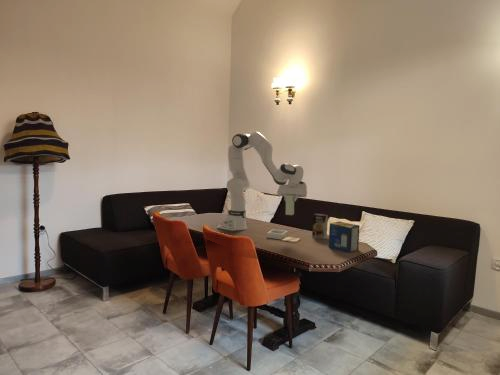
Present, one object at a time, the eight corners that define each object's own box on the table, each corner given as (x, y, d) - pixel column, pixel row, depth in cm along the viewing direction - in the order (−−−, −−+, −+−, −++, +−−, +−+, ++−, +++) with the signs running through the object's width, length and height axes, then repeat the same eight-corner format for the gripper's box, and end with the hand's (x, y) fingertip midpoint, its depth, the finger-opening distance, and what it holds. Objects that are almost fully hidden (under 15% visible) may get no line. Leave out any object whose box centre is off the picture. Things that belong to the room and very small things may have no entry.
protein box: (337, 244, 237) (338, 221, 236) (358, 250, 226) (360, 225, 224) (327, 247, 230) (329, 223, 229) (348, 252, 219) (350, 227, 217)
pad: (281, 240, 243) (281, 239, 243) (286, 237, 252) (286, 236, 252) (296, 242, 239) (296, 241, 239) (300, 239, 248) (300, 238, 248)
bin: (266, 237, 251) (267, 232, 251) (272, 234, 262) (273, 229, 262) (282, 239, 247) (282, 234, 246) (287, 235, 258) (287, 231, 257)
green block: (285, 214, 244) (285, 195, 243) (287, 213, 249) (287, 194, 247) (292, 215, 243) (292, 195, 242) (294, 214, 247) (294, 195, 246)
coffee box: (311, 237, 256) (312, 214, 254) (314, 235, 262) (315, 213, 260) (324, 238, 252) (325, 215, 250) (327, 237, 258) (328, 214, 256)
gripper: (278, 181, 254) (274, 197, 246) (307, 182, 246) (303, 198, 238) (280, 187, 259) (276, 202, 250) (309, 188, 251) (305, 204, 243)
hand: (289, 200), depth 244 cm, fingers closed on green block, 4 cm apart
